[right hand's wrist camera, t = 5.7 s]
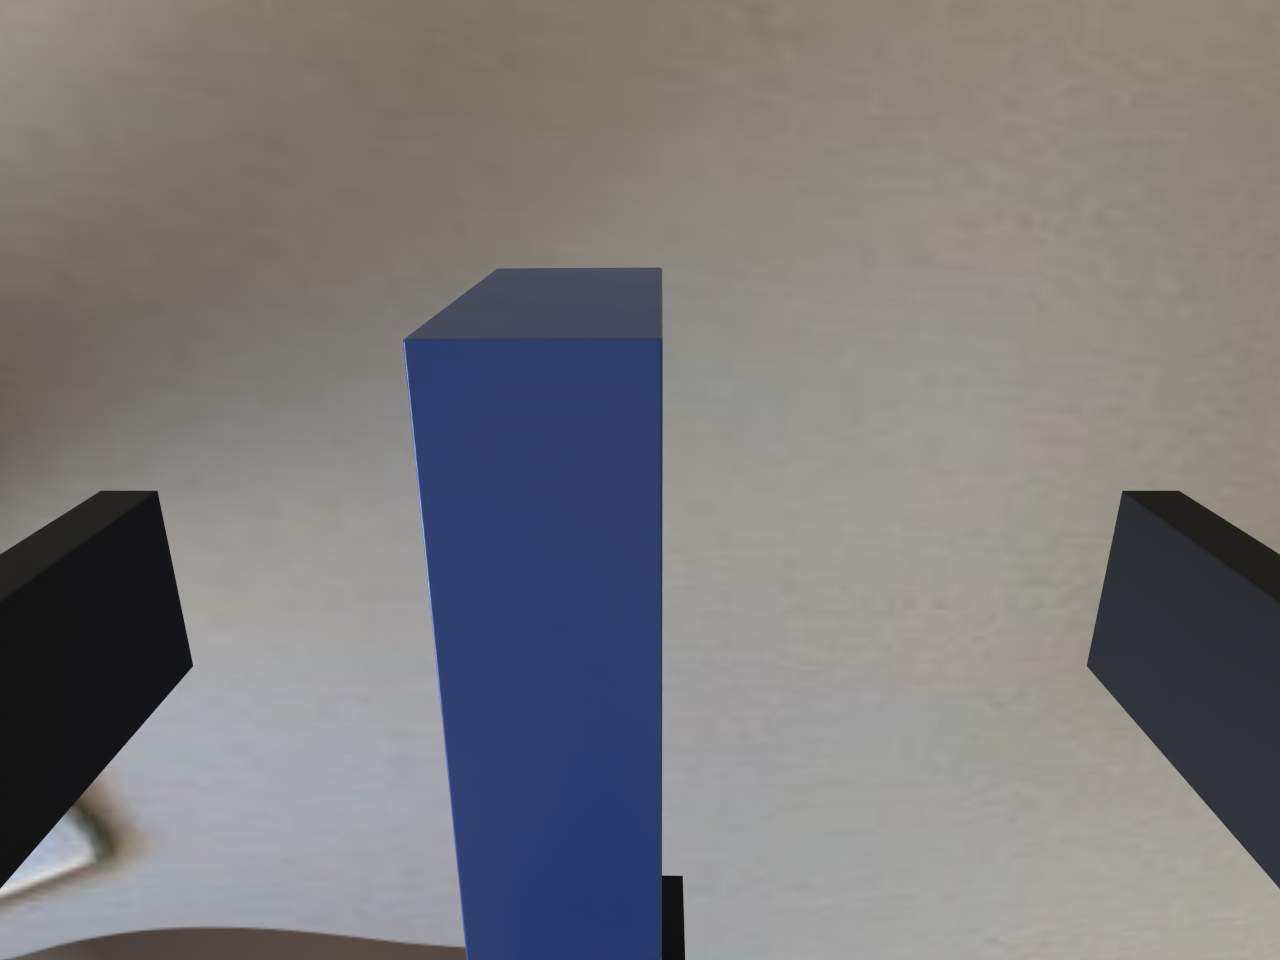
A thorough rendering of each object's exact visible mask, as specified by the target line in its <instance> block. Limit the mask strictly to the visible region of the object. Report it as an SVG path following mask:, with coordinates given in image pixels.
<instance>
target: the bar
mask: <svg viewBox="0 0 1280 960" xmlns="http://www.w3.org/2000/svg"><path fill="white" fill-rule="evenodd" d="M403 346H404V356H405V365H406V375H407V385H408V394H409V404H410V414H411V423H412V433H413V443H414V452H415V462H416V472H417V481H418V491H419V501H420V510H421V520H422V530H423V539H424V549H425V558H426V568H427V578H428V587H429V597H430V607H431V616H432V626H433V636H434V645H435V655H436V665H437V674H438V684H439V694H440V703H441V713H442V723H443V732H444V742H445V752H446V761H447V771H448V781H449V790H450V800H451V810H452V819H453V829H454V839H455V848H456V858H457V868H458V877H459V887H460V897H461V906H462V916H463V926H464V935H465V945H466V954H467V960H662V346H663V340H662V269H661V268H520V269H496V270H495V271H494V272H492V273H491V274H490V275H488V276H487V277H486V278H484V279H483V280H482V281H480V282H479V283H478V284H476V285H475V286H474V287H473V288H471V289H470V290H469V291H467V292H466V293H465V294H463V295H462V296H461V297H459V298H458V299H457V300H455V301H454V302H453V303H451V304H450V305H449V306H447V307H446V308H445V309H443V310H442V311H441V312H439V313H438V314H437V315H435V316H434V317H433V318H431V319H430V320H429V321H428V322H426V323H425V324H424V325H422V326H421V327H420V328H418V329H417V330H416V331H414V332H413V333H412V334H410V335H409V336H408V337H406V338H405V339H404V340H403Z"/></svg>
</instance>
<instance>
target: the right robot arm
mask: <svg viewBox="0 0 1280 960" xmlns="http://www.w3.org/2000/svg"><path fill="white" fill-rule="evenodd" d="M192 667H193V663H192V658H191V653H190V648H189V643H188V638H187V633H186V629H185V624H184V619H183V614H182V609H181V604H180V599H179V594H178V589H177V584H176V580H175V575H174V570H173V565H172V560H171V555H170V550H169V545H168V540H167V536H166V531H165V526H164V521H163V516H162V511H161V506H160V501H159V496H158V491H100V492H98V493H97V494H95V495H94V496H92V497H90V498H89V499H87V500H86V501H84V502H83V503H81V504H79V505H78V506H76V507H75V508H73V509H71V510H70V511H68V512H67V513H65V514H64V515H62V516H60V517H59V518H57V519H56V520H54V521H53V522H51V523H49V524H48V525H46V526H45V527H43V528H41V529H40V530H38V531H37V532H35V533H34V534H32V535H30V536H29V537H27V538H26V539H24V540H22V541H21V542H19V543H18V544H16V545H15V546H13V547H11V548H10V549H8V550H7V551H5V552H3V553H2V554H0V888H1V887H2V886H3V885H4V884H5V883H6V881H7V880H8V879H9V878H10V877H11V876H12V874H13V873H14V872H15V871H16V870H17V869H18V868H19V866H20V865H21V864H22V863H23V862H24V861H25V859H26V858H27V857H28V856H29V855H30V854H31V853H32V851H33V850H34V849H35V848H36V847H37V846H38V844H39V843H40V842H41V841H42V840H43V839H44V837H45V836H46V835H47V834H48V833H49V832H50V831H51V829H52V828H53V827H54V826H55V825H56V824H57V822H58V821H59V820H60V819H61V818H62V817H63V816H64V814H65V813H66V812H67V811H68V810H69V809H70V807H71V806H72V805H73V804H74V803H75V802H76V801H77V799H78V798H79V797H80V796H81V795H82V794H83V792H84V791H85V790H86V789H87V788H88V787H89V786H90V784H91V783H92V782H93V781H94V780H95V779H96V777H97V776H98V775H99V774H100V773H101V772H102V771H103V769H104V768H105V767H106V766H107V765H108V764H109V762H110V761H111V760H112V759H113V758H114V757H115V756H116V754H117V753H118V752H119V751H120V750H121V749H122V747H123V746H124V745H125V744H126V743H127V742H128V741H129V739H130V738H131V737H132V736H133V735H134V734H135V732H136V731H137V730H138V729H139V728H140V727H141V726H142V724H143V723H144V722H145V721H146V720H147V719H148V717H149V716H150V715H151V714H152V713H153V712H154V711H155V709H156V708H157V707H158V706H159V705H160V704H161V702H162V701H163V700H164V699H165V698H166V697H167V696H168V694H169V693H170V692H171V691H172V690H173V689H174V687H175V686H176V685H177V684H178V683H179V682H180V681H181V679H182V678H183V677H184V676H185V675H186V674H187V672H188V671H189V670H190V669H191V668H192ZM1087 667H1088V668H1089V669H1090V670H1091V671H1092V672H1093V674H1094V675H1095V676H1096V677H1097V678H1098V679H1099V681H1100V682H1101V683H1102V684H1103V685H1104V686H1105V687H1106V689H1107V690H1108V691H1109V692H1110V693H1111V694H1112V696H1113V697H1114V698H1115V699H1116V700H1117V701H1118V702H1119V704H1120V705H1121V706H1122V707H1123V708H1124V709H1125V711H1126V712H1127V713H1128V714H1129V715H1130V716H1131V717H1132V719H1133V720H1134V721H1135V722H1136V723H1137V724H1138V726H1139V727H1140V728H1141V729H1142V730H1143V731H1144V732H1145V734H1146V735H1147V736H1148V737H1149V738H1150V739H1151V741H1152V742H1153V743H1154V744H1155V745H1156V746H1157V747H1158V749H1159V750H1160V751H1161V752H1162V753H1163V754H1164V756H1165V757H1166V758H1167V759H1168V760H1169V761H1170V762H1171V764H1172V765H1173V766H1174V767H1175V768H1176V769H1177V771H1178V772H1179V773H1180V774H1181V775H1182V776H1183V777H1184V779H1185V780H1186V781H1187V782H1188V783H1189V784H1190V786H1191V787H1192V788H1193V789H1194V790H1195V791H1196V792H1197V794H1198V795H1199V796H1200V797H1201V798H1202V799H1203V801H1204V802H1205V803H1206V804H1207V805H1208V806H1209V807H1210V809H1211V810H1212V811H1213V812H1214V813H1215V814H1216V816H1217V817H1218V818H1219V819H1220V820H1221V821H1222V822H1223V824H1224V825H1225V826H1226V827H1227V828H1228V829H1229V831H1230V832H1231V833H1232V834H1233V835H1234V836H1235V838H1236V839H1237V840H1238V841H1239V842H1240V843H1241V844H1242V846H1243V847H1244V848H1245V849H1246V850H1247V851H1248V853H1249V854H1250V855H1251V856H1252V857H1253V858H1254V859H1255V861H1256V862H1257V863H1258V864H1259V865H1260V866H1261V868H1262V869H1263V870H1264V871H1265V872H1266V873H1267V874H1268V876H1269V877H1270V878H1271V879H1272V880H1273V881H1274V883H1275V884H1276V885H1277V886H1278V887H1279V888H1280V554H1278V553H1277V552H1275V551H1273V550H1272V549H1270V548H1269V547H1267V546H1265V545H1264V544H1262V543H1261V542H1259V541H1258V540H1256V539H1254V538H1253V537H1251V536H1250V535H1248V534H1246V533H1245V532H1243V531H1242V530H1240V529H1239V528H1237V527H1235V526H1234V525H1232V524H1231V523H1229V522H1227V521H1226V520H1224V519H1223V518H1221V517H1220V516H1218V515H1216V514H1215V513H1213V512H1212V511H1210V510H1209V509H1207V508H1205V507H1204V506H1202V505H1201V504H1199V503H1197V502H1196V501H1194V500H1193V499H1191V498H1190V497H1188V496H1186V495H1185V494H1183V493H1182V492H1180V491H1122V496H1121V501H1120V506H1119V511H1118V516H1117V521H1116V526H1115V531H1114V536H1113V540H1112V545H1111V550H1110V555H1109V560H1108V565H1107V570H1106V575H1105V580H1104V584H1103V589H1102V594H1101V599H1100V604H1099V609H1098V614H1097V619H1096V624H1095V628H1094V633H1093V638H1092V643H1091V648H1090V653H1089V658H1088V663H1087Z"/></svg>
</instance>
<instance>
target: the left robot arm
mask: <svg viewBox="0 0 1280 960" xmlns="http://www.w3.org/2000/svg"><path fill="white" fill-rule="evenodd" d="M662 960H685V941H684V906H683V876H662Z"/></svg>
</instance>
